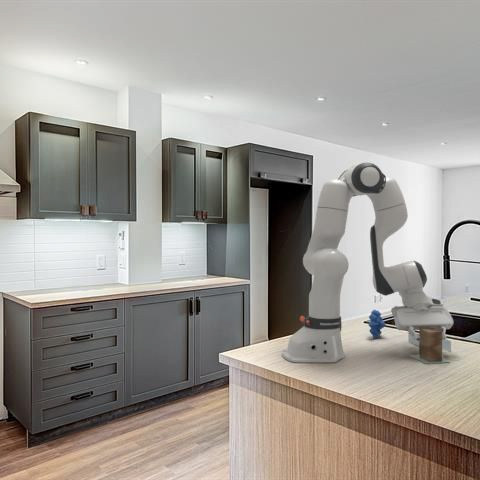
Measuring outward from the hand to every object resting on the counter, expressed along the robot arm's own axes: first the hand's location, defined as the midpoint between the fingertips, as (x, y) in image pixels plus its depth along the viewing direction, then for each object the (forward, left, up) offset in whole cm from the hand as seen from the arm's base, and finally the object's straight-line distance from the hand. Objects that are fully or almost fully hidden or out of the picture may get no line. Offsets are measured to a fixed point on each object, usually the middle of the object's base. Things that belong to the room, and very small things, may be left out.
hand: (430, 339), depth 150 cm
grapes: (-3, +33, -8) cm, 34 cm away
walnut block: (0, 0, -7) cm, 7 cm away
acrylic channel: (+10, +17, -7) cm, 21 cm away
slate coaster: (0, +1, -7) cm, 7 cm away
